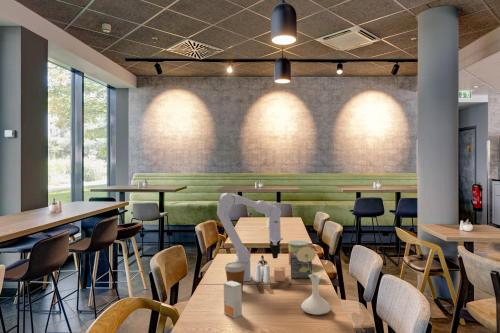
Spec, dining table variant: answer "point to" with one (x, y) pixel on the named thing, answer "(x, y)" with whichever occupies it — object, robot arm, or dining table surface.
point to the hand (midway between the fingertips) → (275, 256)
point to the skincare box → (233, 299)
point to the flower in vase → (315, 301)
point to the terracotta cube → (279, 273)
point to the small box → (298, 265)
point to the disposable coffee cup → (235, 272)
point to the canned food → (296, 248)
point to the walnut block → (279, 283)
